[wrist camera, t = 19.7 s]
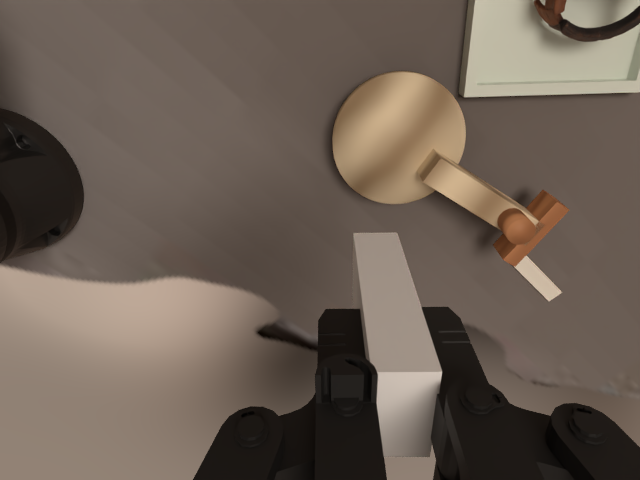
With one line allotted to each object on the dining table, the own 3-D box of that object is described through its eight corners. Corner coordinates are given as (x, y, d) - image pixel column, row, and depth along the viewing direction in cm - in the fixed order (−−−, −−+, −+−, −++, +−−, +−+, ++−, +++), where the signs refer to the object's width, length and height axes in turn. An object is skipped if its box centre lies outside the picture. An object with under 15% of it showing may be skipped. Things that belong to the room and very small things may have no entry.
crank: (308, 159, 43) (305, 184, 36) (380, 42, 38) (390, 49, 32) (483, 262, 48) (506, 300, 41) (566, 170, 43) (606, 198, 37)
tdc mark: (507, 259, 50) (508, 260, 50) (520, 249, 50) (521, 250, 49) (547, 300, 53) (548, 301, 52) (561, 290, 52) (562, 292, 52)
